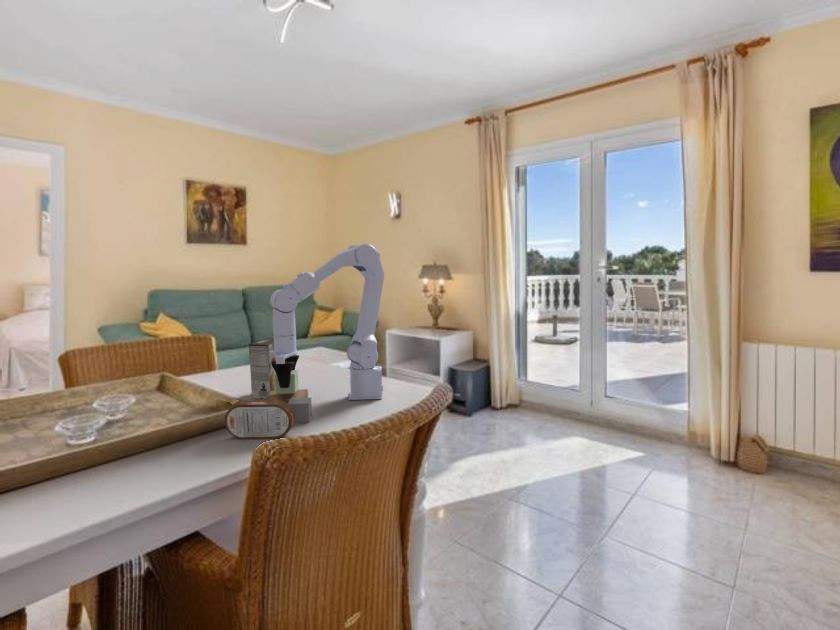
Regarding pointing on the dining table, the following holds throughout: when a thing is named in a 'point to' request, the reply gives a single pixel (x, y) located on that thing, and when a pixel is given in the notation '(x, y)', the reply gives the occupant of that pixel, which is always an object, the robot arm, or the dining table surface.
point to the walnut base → (287, 395)
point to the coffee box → (262, 368)
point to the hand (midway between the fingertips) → (286, 384)
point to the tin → (259, 419)
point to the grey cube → (301, 409)
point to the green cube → (292, 386)
